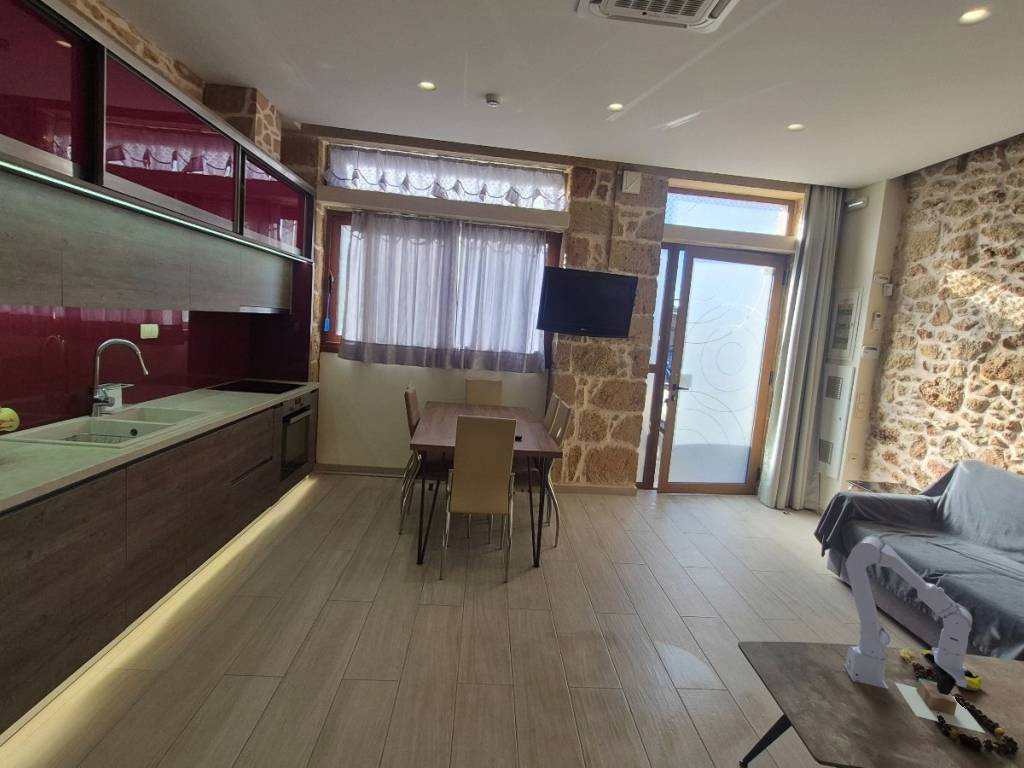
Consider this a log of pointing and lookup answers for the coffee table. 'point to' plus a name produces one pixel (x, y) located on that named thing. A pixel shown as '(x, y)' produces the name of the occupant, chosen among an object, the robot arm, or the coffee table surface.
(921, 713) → the sage mat
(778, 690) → the coffee table surface
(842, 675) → the coffee table surface
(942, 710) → the walnut block
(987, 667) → the coffee table surface
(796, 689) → the coffee table surface
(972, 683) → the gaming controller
